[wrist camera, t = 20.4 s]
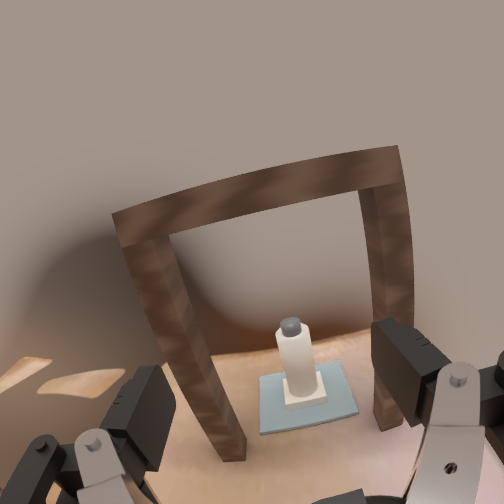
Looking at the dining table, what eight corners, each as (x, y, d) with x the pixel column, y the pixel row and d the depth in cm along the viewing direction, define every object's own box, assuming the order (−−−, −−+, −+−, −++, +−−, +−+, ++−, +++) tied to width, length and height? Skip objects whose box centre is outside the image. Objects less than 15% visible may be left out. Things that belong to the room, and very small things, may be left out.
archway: (223, 461, 29) (111, 213, 21) (226, 440, 33) (131, 208, 25) (402, 424, 27) (397, 145, 19) (392, 405, 31) (378, 148, 23)
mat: (260, 434, 33) (259, 432, 33) (260, 378, 46) (259, 376, 46) (358, 413, 32) (358, 411, 32) (338, 361, 45) (338, 359, 44)
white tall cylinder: (287, 411, 36) (267, 339, 33) (284, 385, 42) (266, 316, 39) (327, 402, 36) (316, 328, 32) (320, 377, 41) (309, 306, 38)
